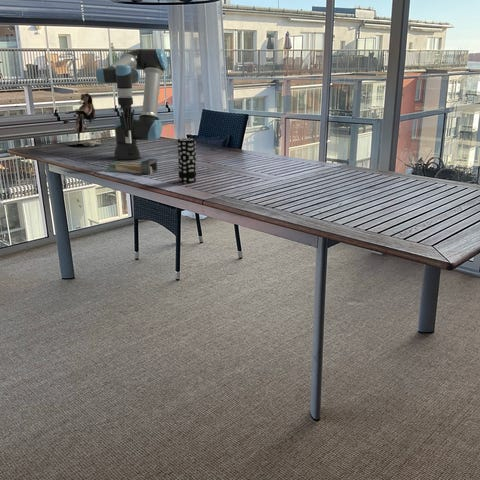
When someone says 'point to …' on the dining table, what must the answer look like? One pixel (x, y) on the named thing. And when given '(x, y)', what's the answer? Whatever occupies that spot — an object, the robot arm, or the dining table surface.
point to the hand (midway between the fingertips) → (128, 142)
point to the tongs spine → (127, 168)
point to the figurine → (86, 113)
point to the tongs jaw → (127, 163)
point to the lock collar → (146, 164)
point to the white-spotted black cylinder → (187, 160)
